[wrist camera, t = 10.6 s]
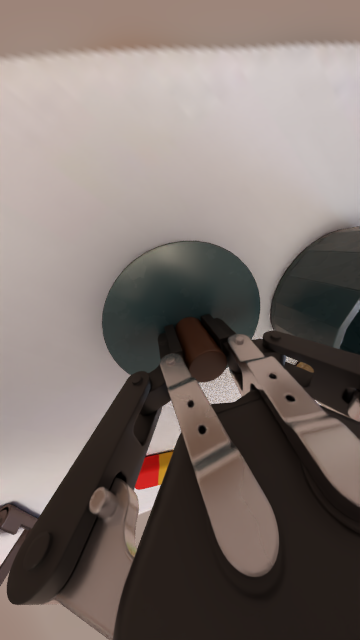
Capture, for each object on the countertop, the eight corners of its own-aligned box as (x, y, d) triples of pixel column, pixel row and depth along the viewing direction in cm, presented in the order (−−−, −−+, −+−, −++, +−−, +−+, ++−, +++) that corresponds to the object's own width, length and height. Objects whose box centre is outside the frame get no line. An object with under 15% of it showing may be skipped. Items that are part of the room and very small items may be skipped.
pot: (266, 354, 19) (315, 398, 13) (276, 245, 13) (367, 246, 8) (352, 326, 20) (428, 356, 15) (396, 215, 14) (547, 197, 9)
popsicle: (133, 458, 22) (132, 475, 21) (226, 438, 26) (232, 451, 24) (134, 475, 25) (134, 492, 23) (220, 455, 28) (225, 468, 26)
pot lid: (137, 393, 16) (134, 458, 11) (71, 265, 10) (2, 285, 5) (251, 357, 18) (292, 401, 13) (254, 223, 11) (339, 207, 6)
